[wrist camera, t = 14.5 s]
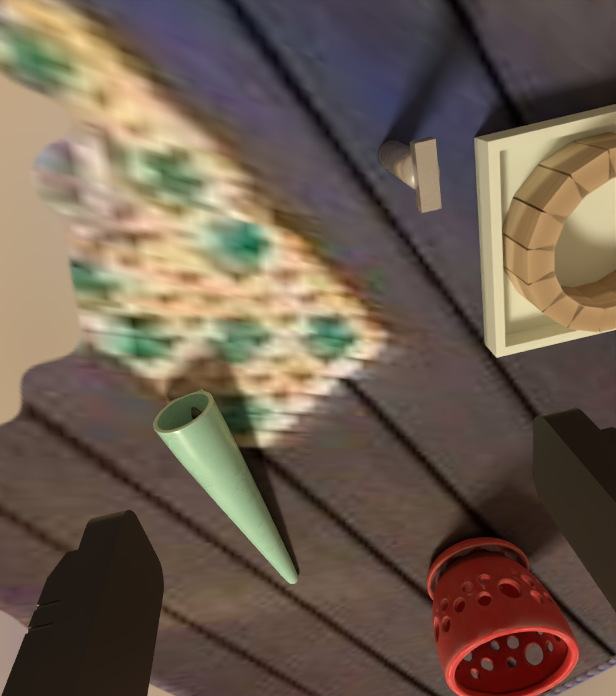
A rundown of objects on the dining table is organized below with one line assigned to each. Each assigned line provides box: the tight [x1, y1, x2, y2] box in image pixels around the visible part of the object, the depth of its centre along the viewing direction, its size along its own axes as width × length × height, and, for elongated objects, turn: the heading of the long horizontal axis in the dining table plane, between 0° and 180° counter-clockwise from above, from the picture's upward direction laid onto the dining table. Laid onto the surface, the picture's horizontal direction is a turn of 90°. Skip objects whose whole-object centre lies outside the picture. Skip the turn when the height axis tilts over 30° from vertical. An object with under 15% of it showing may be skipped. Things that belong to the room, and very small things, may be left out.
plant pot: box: [427, 537, 579, 696], centre depth 56 cm, size 13×13×12 cm
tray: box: [474, 104, 616, 358], centre depth 42 cm, size 18×18×2 cm
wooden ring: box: [502, 132, 616, 332], centre depth 40 cm, size 14×14×4 cm
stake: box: [378, 137, 441, 213], centre depth 35 cm, size 4×2×9 cm, turn 12°
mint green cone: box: [153, 389, 298, 584], centre depth 51 cm, size 5×6×27 cm
